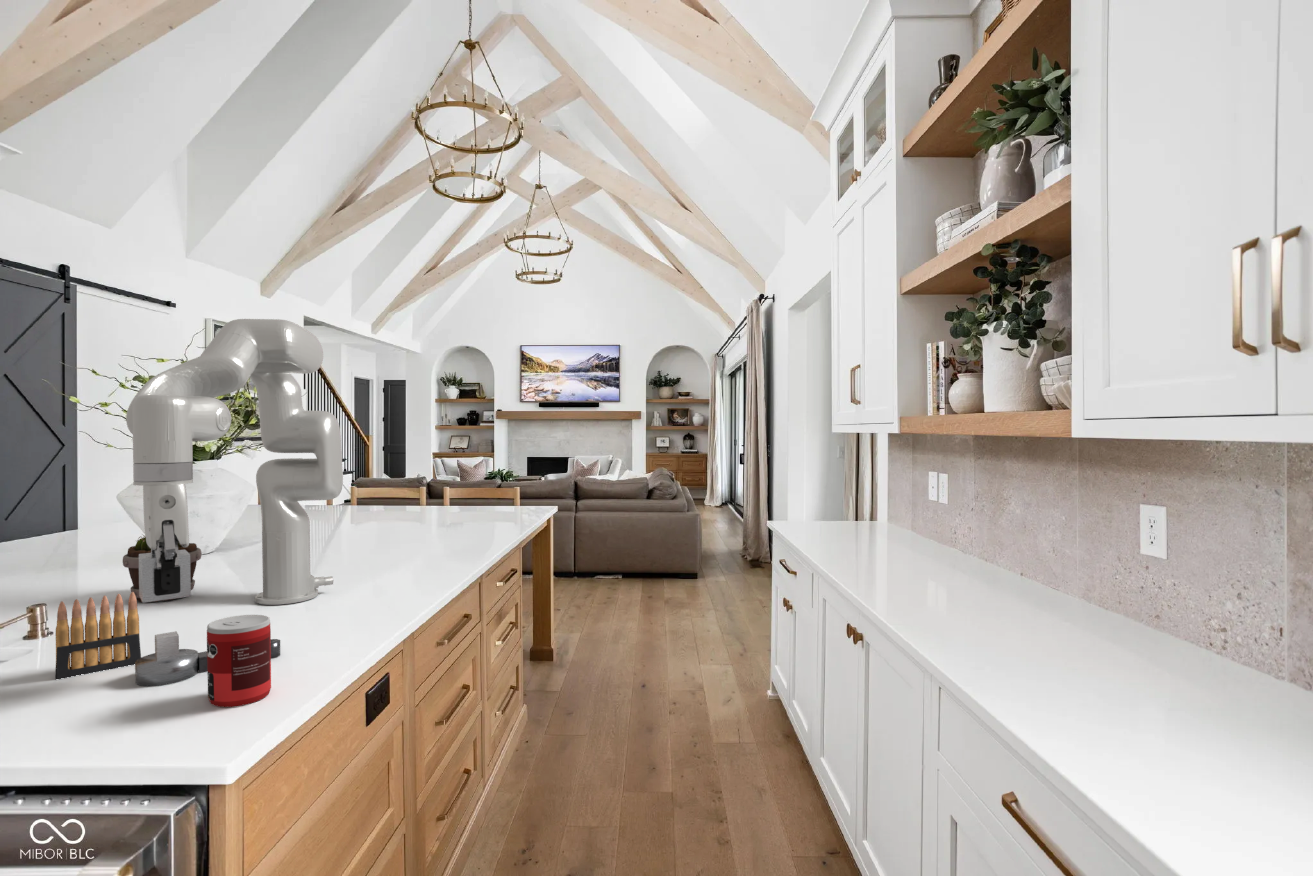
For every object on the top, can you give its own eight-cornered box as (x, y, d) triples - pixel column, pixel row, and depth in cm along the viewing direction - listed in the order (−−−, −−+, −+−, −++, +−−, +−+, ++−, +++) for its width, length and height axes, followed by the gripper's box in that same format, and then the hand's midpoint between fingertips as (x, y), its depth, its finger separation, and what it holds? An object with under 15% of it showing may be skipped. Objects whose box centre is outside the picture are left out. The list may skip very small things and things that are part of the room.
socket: (185, 589, 111) (185, 545, 111) (190, 596, 106) (190, 550, 106) (139, 595, 107) (138, 550, 107) (142, 602, 102) (141, 555, 102)
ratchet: (274, 648, 121) (274, 611, 120) (285, 660, 114) (285, 621, 114) (133, 675, 108) (132, 634, 107) (137, 690, 102) (136, 646, 101)
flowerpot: (109, 600, 154) (107, 511, 153) (185, 586, 167) (184, 504, 166) (138, 609, 146) (137, 516, 146) (216, 594, 159) (214, 508, 159)
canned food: (225, 688, 102) (224, 614, 102) (281, 686, 103) (280, 613, 103) (195, 709, 95) (194, 630, 95) (256, 707, 95) (254, 628, 95)
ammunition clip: (55, 680, 106) (54, 603, 106) (55, 677, 107) (53, 601, 107) (141, 664, 113) (140, 591, 113) (140, 661, 115) (138, 589, 114)
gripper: (200, 476, 102) (202, 596, 103) (185, 471, 115) (186, 578, 116) (137, 478, 97) (139, 604, 98) (129, 473, 111) (130, 584, 111)
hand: (165, 589), depth 107 cm, fingers closed on socket, 6 cm apart
